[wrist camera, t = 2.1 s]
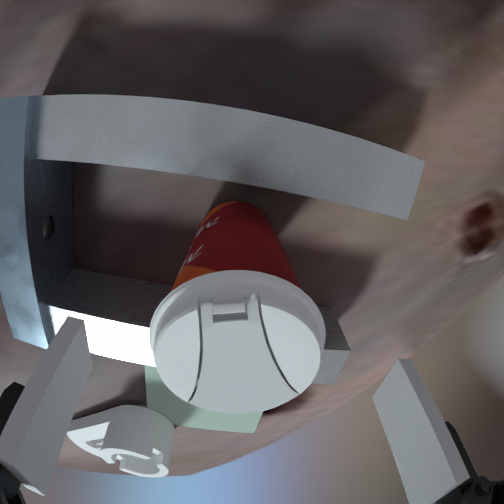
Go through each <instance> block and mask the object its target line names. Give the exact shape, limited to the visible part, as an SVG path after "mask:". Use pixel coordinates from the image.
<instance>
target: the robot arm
mask: <svg viewBox="0 0 504 504" xmlns="http://www.w3.org/2000/svg"><path fill="white" fill-rule="evenodd" d="M92 369H93V363H92V359H91V354H90V348H89V343H88V337H87V332H86V325H85V320H83V319H79V318H75V317H71V316H68V317H67V318H66V320H65V321H64V323H63V324H62V326H61V327H60V329H59V330H58V332H57V334H56V335H55V337H54V338H53V340H52V342H51V343H50V345H49V346H48V348H47V350H46V351H45V353H44V355H43V356H42V358H41V360H40V361H39V363H38V365H37V366H36V368H35V370H34V372H33V373H32V375H31V377H30V379H29V381H28V382H27V384H26V386H23V385H21V384H18V383H16V382H13V383H12V384H11V385H10V386H8V387H7V388H6V389H5V390H4V391H3V393H2V395H1V397H0V504H26V502H25V500H24V498H23V495H22V493H21V491H20V489H19V487H20V484H21V483H22V484H23V485H24V486H25V487H26V488H28V489H30V490H32V491H34V492H36V493H38V494H40V495H43V496H46V494H47V491H48V487H49V484H50V481H51V477H52V474H53V471H54V468H55V465H56V462H57V459H58V456H59V453H60V450H61V447H62V444H63V442H64V439H65V436H66V433H67V431H68V428H69V425H70V423H71V420H72V417H73V415H74V412H75V410H76V407H77V405H78V402H79V400H80V397H81V395H82V392H83V390H84V388H85V385H86V383H87V381H88V378H89V376H90V374H91V371H92ZM372 398H373V401H374V403H375V406H376V409H377V412H378V414H379V417H380V419H381V422H382V425H383V428H384V430H385V433H386V436H387V439H388V441H389V444H390V447H391V450H392V453H393V455H394V458H395V461H396V464H397V467H398V470H399V473H400V476H401V479H402V482H403V485H404V488H405V491H406V495H407V498H408V501H409V504H432V503H434V502H436V504H504V479H503V480H502V481H492V482H490V481H489V479H487V478H486V477H484V476H479V477H478V475H477V474H476V472H475V470H474V468H473V466H472V463H471V461H470V459H469V457H468V455H467V452H466V450H465V448H463V444H462V442H461V441H460V438H459V436H458V434H457V432H456V430H455V428H454V427H453V426H452V425H451V424H450V423H449V422H444V420H443V418H442V416H441V414H440V412H439V410H438V408H437V406H436V404H435V402H434V400H433V399H432V397H431V395H430V393H429V391H428V389H427V387H426V385H425V383H424V382H423V380H422V378H421V376H420V374H419V372H418V371H417V369H416V367H415V365H414V363H413V362H412V360H411V359H397V361H396V363H395V364H394V366H393V367H392V369H391V370H390V372H389V374H388V375H387V377H386V378H385V380H384V381H383V383H382V384H381V386H380V387H379V388H378V390H377V391H376V393H375V394H374V396H373V397H372Z"/></svg>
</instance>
